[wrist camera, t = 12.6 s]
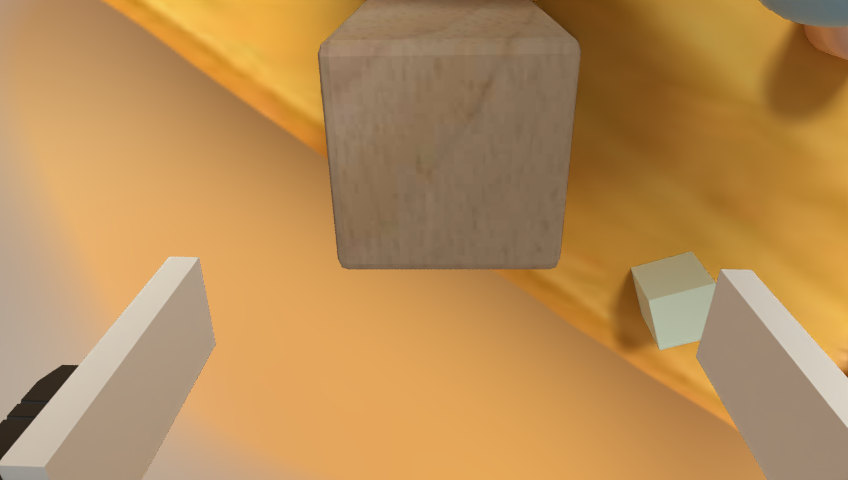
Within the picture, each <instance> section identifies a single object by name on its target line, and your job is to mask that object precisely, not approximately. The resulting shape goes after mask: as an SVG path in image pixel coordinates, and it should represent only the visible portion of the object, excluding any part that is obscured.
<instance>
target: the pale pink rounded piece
mask: <svg viewBox="0 0 848 480" xmlns="http://www.w3.org/2000/svg"><path fill="white" fill-rule="evenodd" d="M803 26H804V31H805V34H806V37H807V39H808V40H809V42H810V43H811V44H812V45H813V46H814V47H815V48H817V49H818V50H820V51H822V52H825V53H828V54H831V55H834V56H837V57H840V58H843V59H846V60H848V27H817V26H811V25H805V24H803Z"/></svg>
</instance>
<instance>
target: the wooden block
mask: <svg viewBox="0 0 848 480" xmlns="http://www.w3.org/2000/svg"><path fill="white" fill-rule="evenodd" d="M580 56H581V49H580V46H579V43H578V41H577V40H576V39H575V38H574V37H573V36H572V35H570V34H569V33H568V32H567V31H566V30H565V29H564V28H562V27H561V26H560V25H559V24H558V23H557V22H556V21H554V20H553V19H552V18H551V17H550V16H549V15H548V14H546V13H545V12H544V11H543V10H542V9H541V8H540V7H538V6H537V5H536V4H535V3H534V2H533V1H532V0H366V1H365V2H364V3H363V4H362V5H361V6H360V7H359V8H358V9H357V10H356V11H355V12H354V13H353V14H352V15H351V16H350V17H349V18H348V19H347V20H346V21H345V22H344V23H343V24H342V25H340V26H339V27H338V28H337V29H336V30H335V31H334V32H333V33H332V34H331V35H330V36H329V37H328V38H327V39H326V40H325V41H324V42H323V43H322V44H321V45H320V49H319V52H318V61H319V72H320V82H321V92H322V102H323V112H324V122H325V132H326V143H327V153H328V163H329V172H330V183H331V193H332V203H333V214H334V224H335V234H336V244H337V254H338V259H339V262H340V264H341V265H342V267H343V268H347V269H551V268H555V267H556V266H557V263H558V261H559V259H560V253H561V243H562V233H563V224H564V214H565V204H566V194H567V184H568V174H569V164H570V155H571V145H572V135H573V125H574V115H575V105H576V95H577V85H578V76H579V66H580Z"/></svg>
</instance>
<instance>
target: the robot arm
mask: <svg viewBox="0 0 848 480" xmlns="http://www.w3.org/2000/svg"><path fill="white" fill-rule="evenodd" d="M759 1H760V2H761V3H762V4H763V5H764V6H765V7H766V8H768V9H769V10H772V11H773V12H775V13H776V14H778V15H780V16H781V17H783V18H784V19H788V20H790V21H792V22H795V23H799V24H805V25H811V26H817V27H848V0H759ZM215 345H216V343H215V338H214V333H213V327H212V323H211V317H210V312H209V306H208V301H207V296H206V291H205V286H204V281H203V276H202V270H201V266H200V260H199V257H169V258H168V259H167V260H166V261H165V262H164V264H163V265H162V266H161V267H160V269H159V270H158V271H157V272H156V273H155V275H154V276H153V277H152V278H151V279H150V280H149V282H148V283H147V284H146V285H145V287H144V288H143V289H142V290H141V291H140V293H139V294H138V295H137V296H136V297H135V299H134V300H133V301H132V302H131V303H130V305H129V306H128V307H127V308H126V309H125V311H124V312H123V313H122V314H121V315H120V317H119V318H118V319H117V320H116V321H115V323H114V324H113V325H112V326H111V328H110V329H109V330H108V331H107V332H106V334H105V335H104V336H103V337H102V338H101V340H100V341H99V342H98V343H97V344H96V346H95V347H94V348H93V349H92V351H91V352H90V353H89V354H88V355H87V356H86V358H85V359H84V360H83V361H82V362H81V364H80V365H61V366H60V367H59V368H57V369H56V370H54V371H52V372H51V373H49V374H48V375H46V376H45V377H43V378H42V379H40V380H39V381H38V382H37V383H36V384H35V385H34V386H33V387H32V388H31V390H30V391H29V392H28V393H27V394H26V395H25V396H24V398H22V400H21V403H20V404H17V405H16V406H15V407H14V409H13V410H12V411H11V412H10V413H9V415H8V416H7V419H6V420H3V421H2V422H1V423H0V480H142V479H143V477H144V475H145V473H146V471H147V469H148V467H149V466H150V464H151V462H152V460H153V458H154V456H155V455H156V453H157V451H158V449H159V447H160V446H161V444H162V442H163V440H164V438H165V436H166V435H167V433H168V431H169V429H170V427H171V425H172V424H173V422H174V420H175V418H176V416H177V414H178V413H179V411H180V409H181V407H182V405H183V403H184V402H185V400H186V398H187V396H188V394H189V392H190V391H191V389H192V387H193V385H194V383H195V381H196V380H197V378H198V376H199V374H200V372H201V370H202V369H203V367H204V365H205V363H206V361H207V359H208V358H209V356H210V354H211V351H212V350H213V348H214V347H215ZM696 358H697V359H698V361H699V363H700V365H701V366H702V368H703V370H704V371H705V373H706V375H707V377H708V378H709V380H710V382H711V383H712V385H713V387H714V389H715V390H716V392H717V394H718V396H719V397H720V399H721V401H722V402H723V404H724V406H725V408H726V409H727V411H728V413H729V414H730V416H731V418H732V420H733V421H734V423H735V425H736V426H737V428H738V430H739V432H740V433H741V435H742V437H743V439H744V440H745V442H746V444H747V445H748V447H749V449H750V451H751V452H752V454H753V455H754V457H755V459H756V461H757V462H758V464H759V466H760V468H761V469H762V471H763V473H764V474H765V476H766V478H767V480H848V378H847V377H846V376H845V374H844V373H843V372H842V371H841V370H840V369H839V368H838V367H837V365H836V364H835V363H834V362H833V361H832V360H831V359H830V358H829V356H828V355H827V354H826V353H825V352H824V351H823V350H822V349H821V347H820V346H819V345H818V344H817V343H816V342H815V341H814V340H813V338H812V337H811V336H810V335H809V334H808V333H807V332H806V331H805V329H804V328H803V327H802V326H801V325H800V324H799V323H798V322H797V320H796V319H795V318H794V317H793V316H792V315H791V314H790V313H789V311H788V310H787V309H786V308H785V307H784V306H783V305H782V304H781V302H780V301H779V300H778V299H777V298H776V297H775V296H774V295H773V293H772V292H771V291H770V290H769V289H768V288H767V287H766V286H765V284H764V283H763V282H762V281H761V280H760V279H759V278H758V277H757V275H756V274H755V273H754V272H753V271H752V270H736V269H720V273H719V276H718V280H717V283H716V287H715V290H714V294H713V298H712V301H711V305H710V308H709V312H708V315H707V319H706V323H705V326H704V330H703V333H702V337H701V340H700V344H699V348H698V351H697V355H696Z"/></svg>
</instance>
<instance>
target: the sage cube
mask: <svg viewBox="0 0 848 480" xmlns="http://www.w3.org/2000/svg"><path fill="white" fill-rule="evenodd" d="M631 271H632V276H633V280H634V284H635V288H636V293H637V297H638V301H639V306H640V310H641V314H642V316H643V318H644V320H645V322H646V324H647V326H648V328H649V330H650V332H651V334H652V336H653V338H654V340H655V342H656V344H657V346H658V348H659V350H663V349H667V348H671V347H675V346H679V345H683V344H687V343H691V342H695V341H699V340H701V337H702V333H703V330H704V326H705V323H706V319H707V315H708V312H709V308H710V305H711V301H712V298H713V294H714V290H715V287H716V282H715V281H714V280H713V278H712V277H711V276H710V274H709V273H708V272H707V270H706V269H705V268H704V266H703V265H702V264H701V262H700V261H699V260H698V259H697V257H696V256H695V255H694V253H693V252H692V251H690V252H686V253H683V254H679V255H676V256H672V257H668V258H665V259H661V260H658V261H654V262H650V263H647V264H643V265H640V266H636V267H632V268H631Z"/></svg>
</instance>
